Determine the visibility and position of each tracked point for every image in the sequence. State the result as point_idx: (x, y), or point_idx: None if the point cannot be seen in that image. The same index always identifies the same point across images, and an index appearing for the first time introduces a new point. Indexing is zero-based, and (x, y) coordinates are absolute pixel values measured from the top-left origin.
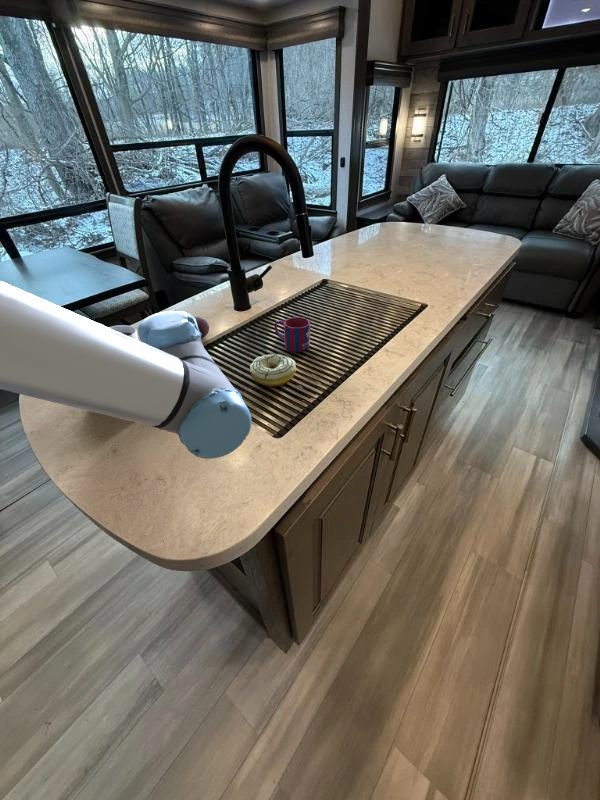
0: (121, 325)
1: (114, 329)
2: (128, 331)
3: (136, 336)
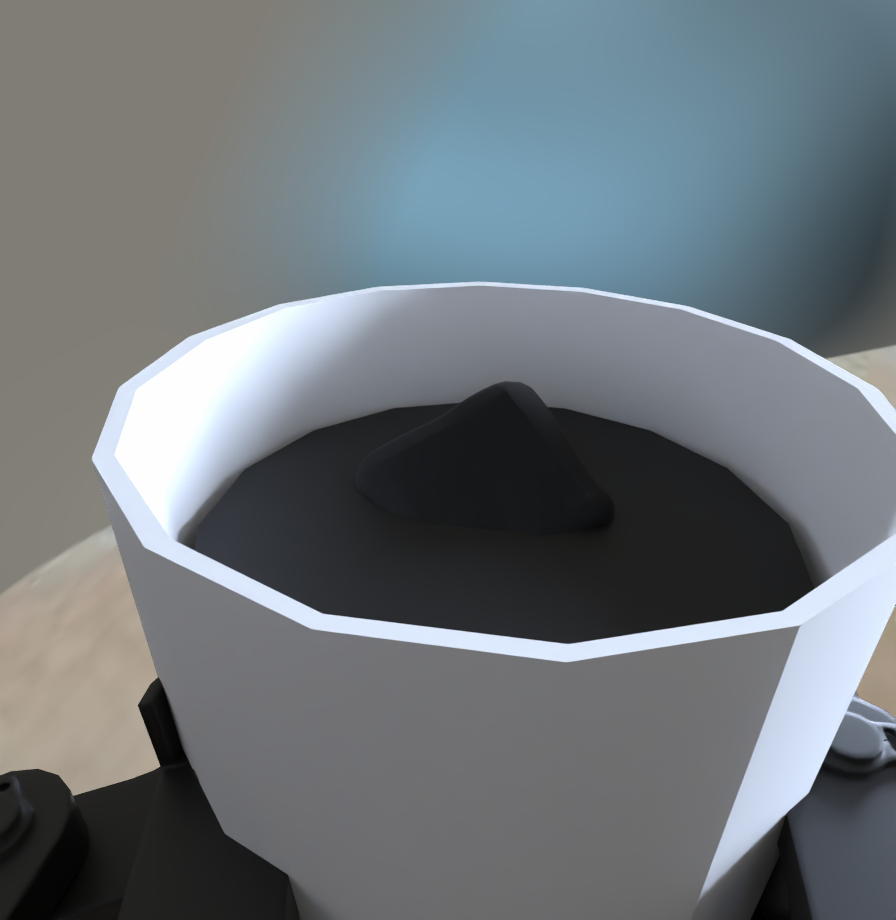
0: (636, 299)
1: (512, 337)
2: (703, 426)
3: (872, 636)
